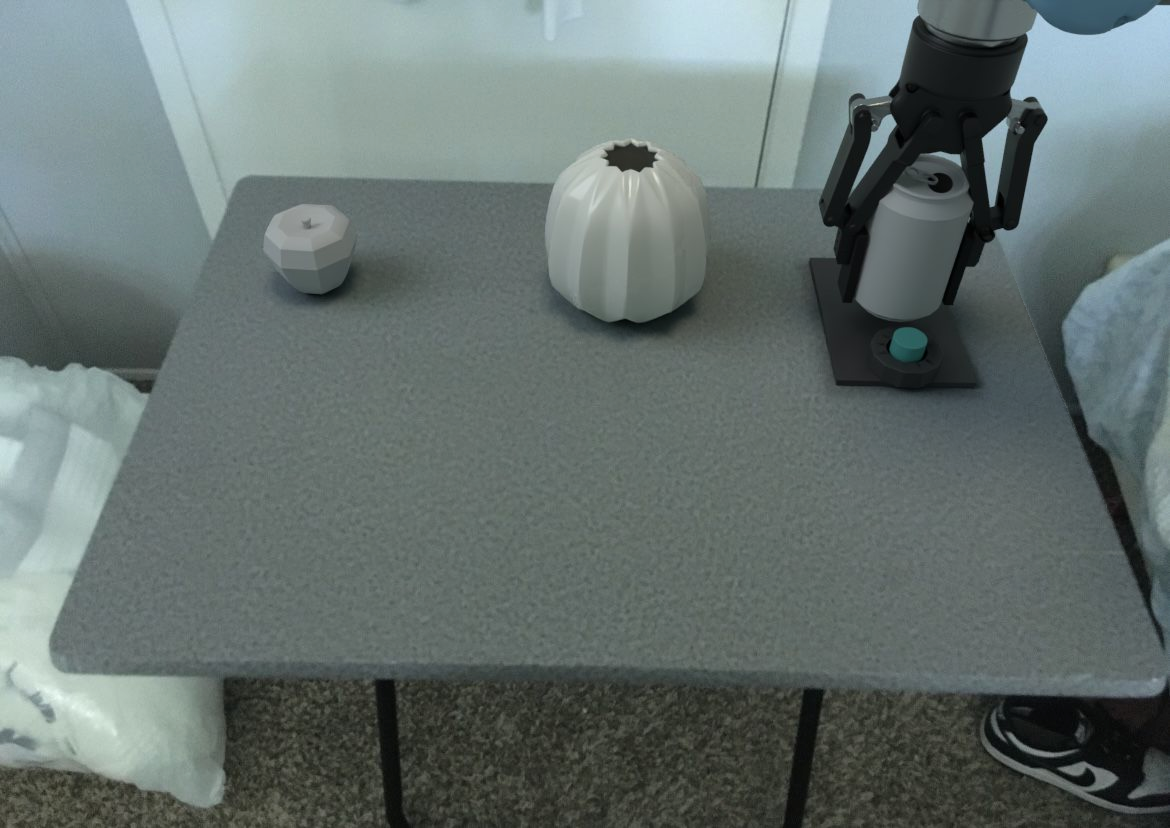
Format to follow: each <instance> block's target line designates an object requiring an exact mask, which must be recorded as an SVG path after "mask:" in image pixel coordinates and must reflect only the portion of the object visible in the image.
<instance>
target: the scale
mask: <svg viewBox="0 0 1170 828" xmlns="http://www.w3.org/2000/svg"><path fill="white" fill-rule="evenodd" d="M808 263H809V264H808V265H809V269H810V274H811V277H812V283H813V287H814V288H813V289H814V292H815V295H816V300H817V305H818V309H819V314H820V315H819V316H820V319H821V323H822V328H823V332H824V337H825V341H826V346H827V350H828V354H829V359H830V365H831V368H832V373H833V377H834V382H835V385H836V386H864V387H865V386H870V387H899V388H909V389H910V388H912V389H913V388H914V389H915V388H916V389H917V388H956V389H957V388H958V389H959V388H960V389H961V388H962V389H963V388H964V389H965V388H966V389H976V387H977V385H978V381H977V378H976V375H975V373H974V370H973V367H972V364H971V362H970V359H969V356H968V354H967V351H966V348H965V346H964V343H963V339H962V336H961V335H960V331H959V328H958V326H957V323H956V321H955V317H954V315H953V313H952V310H951V307H950V306H951V305H944V304H943V302H942V301H941V303H940V306H939V308H938V309H937V310H936V311H934V312H933V313H932V314H931V315H928V316H925V317H922V318H919V319H916V320H913V321H906V322H896V321H888V320H885V319H882V318H879V317H876V316H874V315H873V314H871V313H869V312H867V311H866V310H865V309H864V308H863V307H862V306H861V305H860V304H859V303H858V302H857V301H856V300H855V299H854V297H853V300H852V303H843V302H842V298H841V294H840V290H839V286H838V278H839V274H840V269H841V265H842V264H837V261H836V257H809V259H808ZM903 327H911V328H915V329H918V330H920V331H921V332H923V333H924V334H925V335H926V337H927V345H926V348H925V351H924V354H923V357H922V359H921V360H920V361H918V362H916V363H905V362H902V361H900V360H897V359H895V358H894V357H893V356H892V355H891V354H890V351H889V348H890V345H891V341H892V338H893V335H894V332H895V331H896V330H897V329H899V328H903Z"/></svg>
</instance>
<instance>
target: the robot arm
mask: <svg viewBox="0 0 1170 828" xmlns="http://www.w3.org/2000/svg"><path fill="white" fill-rule="evenodd" d="M1156 6H1170V0H918V1H917V5H916V10H917V14H918V15H917V16H916V17H915V18H914V19H913V20H912V25H911V28H910V32H909V37H908V41H907V45H906V49H905V52H904V56H903V61H902V65H901V70H900V74H899V78H898V80H897V81H896V83H895V85H894V86H893V87H892V88H891V89H890V91H889V93H888V95H883V96H876V97H871V98H866V96H865V95H864V94H863V93H861V92H856V93H853V94H852V95H851V96H850V97H849V99H848V124H847V126H846V129H845V131H844V135H843V137H842V140H841V142H840V145H839V148H838V151H837V153H836V155H835V159H834V161H833V163H832V166H831V168H830V172H829V174H828V177H827V180H826V182H825V185H824V188H823V190H822V193H821V195H820V198H819V200H818V207H819V212H820V216H821V219H822V220H821V221H822V223H823V225H824V226H825V227H827V228H833V227H836V228H837V230H836V235H835V240H834V244H833V248H832V250H833V254H834V258H836V261H837V264H842V265H841V269H840V274H839V278H838V286H839V290H840V294H841V298H842V302H843V303H852V300H853V296H854V292H855V288H856V284H857V280H858V276H859V272H860V268H861V264H862V261H863V257H864V253H865V249H866V245H867V241H868V234H867V230H866V227H865V223H866V221H867V220H868V219H869V217H870V216H871V215H872V213H873V212H874V211H875V209H876V208H877V207H878V205H879V201H880V200H881V199H883V198H884V197H885V196H886V194H887V193H888V192H889V190H890V189H891V188H892V186H893V184H895V182H896V181H897V179H898V178H899V177H900V175H901V174H902V173H903V171H904V170H905V169H906V167H908V166H912V165H913V163H914V162H915V161H916V159H917V158H918V157H919V155H920V154H931V155H932V154H935V153H940V152H941V153H944V154H948V155H959V160H960V166H961V167H962V169H963V172H964V174H965V176H966V178H967V181H968V183H969V186H970V187H969V189H968V190H969V193H970V196H971V199H972V201H973V202H974V204H973V207H972V210H971V213H970V216H969V219H968V222H967V225H966V228H965V231H964V234H963V237H962V241H961V244H960V247H959V250H958V253H957V256H956V259H955V262H954V265H953V268H952V271H951V274H950V277H949V280H948V283H947V286H946V289H945V292H944V295H943V299H942V302H943V304H944V305H949V306H954V303H955V300H956V297H957V294H958V292H959V288H960V286H961V283H962V280H963V277H964V274H965V271H966V269H967V268H975V267H976V266H977V265H978V264H979V262H980V259H981V257H982V253H983V251H984V247H985V245H986V244H989V243H991V242H992V241H994V240H995V238H996V232H995V231H998V230H1002V229H1003V230H1004V231H1006V232H1007V231H1008V232H1009V231H1014V230H1015V229H1017V228H1018V227H1019V224H1020V219H1021V214H1022V209H1023V204H1024V198H1025V194H1026V190H1027V184H1028V179H1029V172H1030V168H1031V165H1032V157H1033V153H1034V147H1035V144H1036V142H1037V140H1038V138H1039V137H1040V135H1041V133H1042V131H1044V129H1045V127H1046V125H1047V123H1048V120H1049V117H1048V115H1047V113H1046V112H1045V110H1044V108H1043V107H1042V105H1041V104H1040V102H1039V100H1038V98H1037V97H1035V96H1027V97H1026V98H1024V99H1023V100H1020V99H1016V98H1012V96H1011V90H1012V87H1013V86H1014V84H1015V82H1016V79H1017V75H1018V72H1019V69H1020V66H1021V64H1022V60H1023V57H1024V54H1025V51H1026V48H1027V45H1028V42H1029V37H1028V34H1027V33H1028V32H1029V31H1031V30H1032V29H1033V26H1034V25H1035V22H1036V19H1037V16H1038V14H1039V15H1040V17H1041V18H1042V19H1043V20H1044V21H1045V22H1046V23H1048V24H1049V25H1050V26H1052V27H1053V28H1055V29H1058V30H1060V31H1062V32H1065V33H1067V34H1072V35H1078V36H1097V35H1101V34H1106V33H1108V32H1111V31H1112V30H1114V29H1116V28H1119V27H1122V26H1124V25H1126V24H1128V23H1132V22H1136V21H1138V20H1139V19H1140V18H1142V17H1145V15H1147V14H1149V12H1151V11H1152V10H1153V9H1154V8H1155V7H1156ZM890 115H891V116H892V118H893V121H894V123H895V126H894V128H893V129H892V130H891V132H889V135H888V137H887V140H886V141H887V142H886V143H885V145H884V147H883V148H882V150H881V151H880V153H878V155H877V156H876V158H875V159H874V160H873V162H872V163H871V165H870V167H869V168H868V169H867V171H866V172H865V174H864V175H863V176H862V178H861V179H860V180H859V182H858V183H857V185H856V186H855V187H854V185H855V182H856V179H857V178H858V174H859V172H860V170H861V167H862V165H863V163H864V160H865V157H866V155H867V153H868V150H869V147H870V144H871V140H872V133H875V132H878V130H879V128H880V127H881V124H882V121H883V120H884V118H885V117H887V116H890ZM1004 120H1005V123H1006V126H1007V127H1008V128H1007V132H1006V136H1005V143H1004V149H1003V153H1002V160H1001V164H1000V165H1001V167H1000V172H999V178H998V183H997V189H996V195H995V201H994V206H991V204H990V197H989V190H988V183H987V175H986V169H985V162H986V159H985V158H986V157H985V152H984V144H983V138H985V137H986V136H987V135H988V134H990V132H991V131H993V130H994V129H995V128H996V127H997V126H998V125H999V124H1001V123H1002V122H1003V121H1004ZM853 188H854V189H853ZM852 190H853V191H852Z"/></svg>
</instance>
